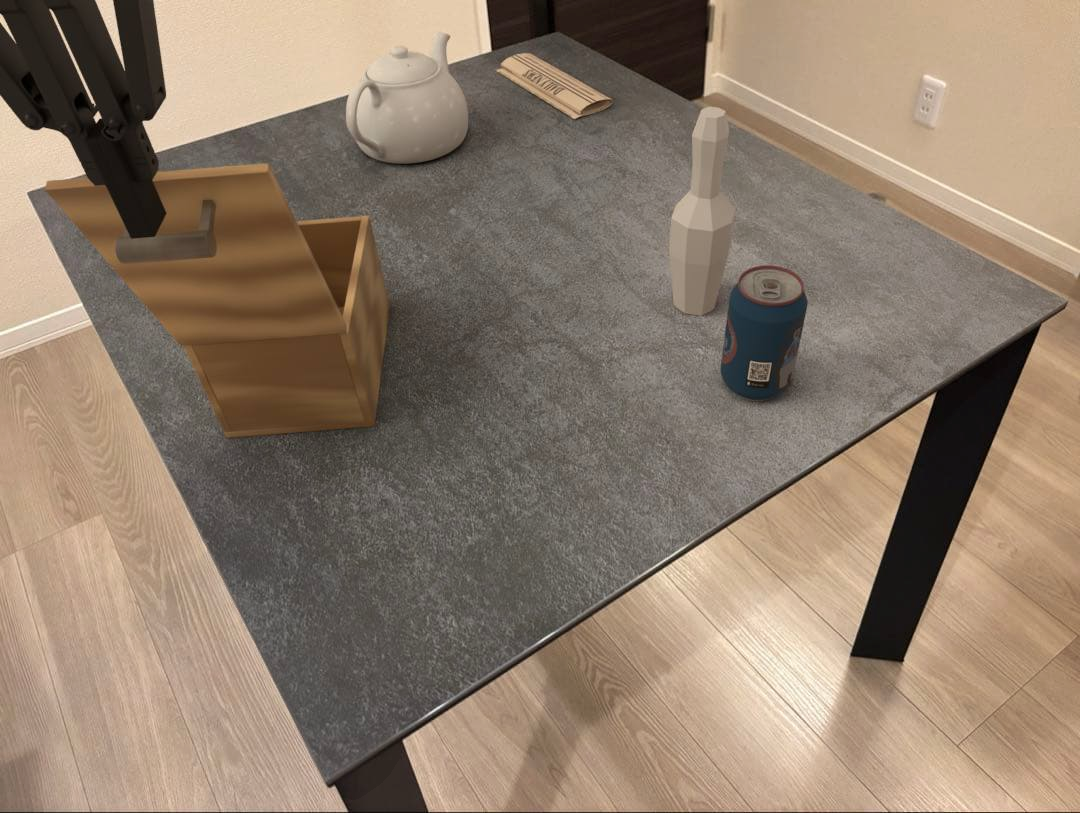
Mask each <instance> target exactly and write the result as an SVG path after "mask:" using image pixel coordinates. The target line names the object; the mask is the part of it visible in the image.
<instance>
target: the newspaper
mask: <svg viewBox="0 0 1080 813" xmlns="http://www.w3.org/2000/svg"><path fill="white" fill-rule="evenodd" d="M500 65H501V66H500V67H501V68H498V69H496V70H495V72H497V73H499V74H500V75H502V76H504V77H505V78H507V79H508V80H510V81H512V82H513V83H515V84H517V85H518V86H520V88H521V87H522V88H523V89H525V90H526V91H527V92H530V93H531V94H533V95H534V96H536V97H537V98H539V99H541V100H543V101H544V102H546V103H547V104H549V105H551V106H552V107H554V109H555V108H556V109H558V110H559V111H560V112H562V113H564V114H565V115H567V116H569V117H570V118H572V119H573V120H576V119H578V118H580V117H586V116H589V115H593V114H595V113H598V112H601V111H604V110H606V109H607V108H609V107H611V105H612V104H613V99H612V98H611V97H608V96H607V95H606V94H603V93H602V92H600V91H598V90H596V89H594V88H592V87H591V86H589V85H587V84H586V83H584V82H582V81H580V80H579V79H577V78H575V77H574V76H571V75H570V74H567V73H566V72H564V71H562V70H561V69H559V68H557V67H555V66H554V65H551V64H550V63H548V62H546V61H545V60H543V59H542V58H539V57H538V56H535V55H534V54H532V53H529V52H528V53H527V52H523V53H517V54H514V55H512V56H509V57H507V58H506V59H505V60H502V62H501V63H500Z"/></svg>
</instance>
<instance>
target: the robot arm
mask: <svg viewBox="0 0 1080 813" xmlns="http://www.w3.org/2000/svg"><path fill="white" fill-rule="evenodd" d="M97 3H98V2H97V1H96V0H0V15H1V16H2V17H3V19H4V22H5V24H6V25H7V27H8V30H9V32H10V33H11V35H10V33H9V32H8V31H7V29H6V28H5V26H4V25H3V24H2V22H0V97H1V98H2V100H3V101H4V102H5V104H6V105H7V106H8V107H9V108H10V110H11V111H12V112H13V113H14V115H15V116H16V117H17V118H18V120H19V121H20V122H21V123H22V124H23V125H24V127H25V128H27V129H29V130H32V131H41V130H42V129H43V128H44V129H48V130H52V131H56V132H58V133H61V134H62V135H63V136H64V137H66V138H67V139H68V141H69V143H70V145H71V148H72V149H73V151H74V154H75V155H76V157H77V159H78V161H79V163H80V165H81V167H82V169H83V172H84V173H85V176H86V178H88V179H89V180H90V181H91V182H92V183H93V184H94V185H95V186H99V185H106V187H107V190H108V192H109V194H110V196H111V198H112V200H113V202H114V204H115V206H116V208H117V210H118V212H119V215H120V217H121V219H122V221H123V223H124V225H125V227H126V229H127V231H128V233H129V235H130V238H131V239H134V238H146V237H155V236H156V234H157V232H158V230H159V228H160V226H161V224H162V222H163V220H164V218H165V216H166V214H167V213H166V211H165V208H164V206H163V204H162V201H161V199H160V197H159V195H158V192H157V190H156V188H155V185H154V183H153V181H152V180H153V178H154V176H155V175H156V173H157V172H159V170H160V169H159V168H160V167H159V166H160V165H159V164H160V160H159V159H158V157H157V154H156V152H155V149H154V147H153V144H152V142H151V139H150V137H149V135H148V132H147V129H146V128H145V125H144V122H150V121H151V120H153V119H154V117H155V116H156V115H157V113H158V111H159V109H160V108H161V106H162V105H163V103H164V102H165V100H166V98H167V89H166V81H165V76H164V75H165V74H164V69H163V68H164V67H163V61H162V53H161V45H160V39H159V38H160V37H159V32H158V25H157V24H158V23H157V18H156V17H157V16H156V10H155V3H154V0H112V3H113V8H114V15H115V20H116V26H117V32H118V38H119V44H120V49H121V55H122V61H121V58H120V56H119V54H118V51H117V49H116V46H115V43H114V41H113V39H112V37H111V33H110V31H109V29H108V26H107V25H106V23H105V19H104V17H103V15H102V13H101V10H100V8H99V6H98V4H97ZM51 11H52V12H51ZM52 13H53V14H54V16H53V14H52ZM54 17H55V18H54ZM55 19H56V21H55ZM57 23H58V25H57ZM59 28H60V30H61V32H62V34H61V32H60V30H59ZM63 37H64V39H65V41H66V43H67V45H68V47H67V45H66V43H65V41H64V39H63ZM68 48H69V49H68ZM69 50H70V51H69ZM70 52H71V54H72V56H73V58H74V60H73V58H72V56H71V54H70ZM74 62H75V63H74ZM122 62H123V63H122ZM75 64H76V65H77V67H78V69H77V67H76V65H75ZM78 70H79V71H78ZM79 72H80V73H79ZM80 74H81V76H82V78H81V76H80ZM82 79H83V80H84V82H83V81H82ZM84 83H85V85H86V87H87V89H88V91H87V89H86V87H85V85H84ZM88 92H89V94H90V95H89V94H88ZM90 97H91V98H92V100H93V102H94V103H93V102H92V100H91V98H90ZM97 113H99V116H100V118H99V119H98V120H97V121H96V120H95V116H96V115H97Z"/></svg>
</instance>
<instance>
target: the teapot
mask: <svg viewBox="0 0 1080 813" xmlns="http://www.w3.org/2000/svg"><path fill="white" fill-rule="evenodd" d="M450 39H451V35H450V34H449V33H446V32H443V31H436V32H435V33H434V35H433V38H432V41H431V43H430V49H429V55H427V54H425V53H422V52H419V51H412V50H409V49H408V47H406V45H405V46H404V45H395V46H393V47H391V49H390V50H389V52H390V53H386V54H383V55H381V56H380V57H378V58H376V59H375V60H374V61H373V62H372V63H371V64H370V65H368V67H366V68H365V70H364V71H363V73H362V77H361V79H359V80H358V81H356V82H355V83H354V84H353V85H352V87H351V88H350V91H349V93H348V96H347V100H346V107H345V121H346V122H345V123H346V127H347V130H348V132H349V134H350V135H351V137H352V138H353V139H355V142H356V144H357V145H358V147H359V149H361V151H362V152H363V153H364V154H366V155H367V156H368V157H370V158H372V159H374V160H376V161H380V162H382V163H389V164H398V165H401V164H402V165H403V164H404V165H405V164H407V165H409V164H419V163H423V162H428V161H432V160H436V159H438V158H441V157H443V156H445V155H448V154H450V153H451V152H453V151H454V150H456V149H457V148H459V146H460V145H461V144H462V143H463V142H464V140H465V138H466V136H467V133H468V129H469V110H468V104H467V100H466V97H465V95H464V92H463V90H462V89H461V86H460V85H459V84H458V82H457V81H456V79H455V78H454V77H453V76H452V75H451V74H450V70H449V64H448V63H449V62H448V55H447V46H448V42H449V40H450Z"/></svg>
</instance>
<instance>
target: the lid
mask: <svg viewBox="0 0 1080 813" xmlns="http://www.w3.org/2000/svg"><path fill="white" fill-rule="evenodd" d="M152 181H153V183H154V185H155V188H156V190H157V192H158V195H159V197H160V199H161V201H162V204H163V206H164V208H165V211H166V213H167V214H166V216H165V218H164V220H163V222H162V224H161V226H160V228H159V230H158V232H157V234H156V236H155V237H146V238H134V239H131V238H130V235H129V233H128V231H127V229H126V227H125V225H124V223H123V221H122V219H121V217H120V215H119V212H118V210H117V208H116V206H115V204H114V202H113V200H112V198H111V196H110V194H109V192H108V190H107V187H106V185H99V186H95V185H94V184H93V183H92V182H91V181H90V180H89V179H88V177H78V178H65V179H53V180H46V183H45V187H44V191H45V192H46V193H47V195H48V196H49V197H50V198H51V199H52V200H53V201H54V203H55V204H56V205H57V206H58V207H59V208H60V210H61V211H62V212H63V213H64V214H65V215H66V216H67V217H68V218H69V221H71V223H72V224H74V225H75V227H76V228H77V229H78V230H79V231H80V232H81V234H83V236H84V237H85V238H86V239H87V240H88V242H89V243H90V244H91V245H92V246H93V248H95V249H96V251H97V252H98V253H99V254H100V255H101V256H102V258H103V259H105V261H106V262H107V264H109V266H110V267H111V268H112V269H113V270H114V271H115V273H116V274H117V275H118V276H119V277H120V278H121V280H122V281H123V282H124V283H125V284H126V285H127V286H128V287H129V288H130V290H131V291H132V292H133V293H134V295H136V297H137V298H138V299H139V301H141V303H142V304H143V305H144V307H146V308H147V310H149V312H150V313H151V314H152V315H153V316H154V317H155V318H156V320H157V321H158V322H159V323H160V324H161V325H162V326H163V327H164V329H165V331H167V332H168V333H169V334H170V336H171V337H172V338H173V339H174V340H175V341H176V342H177V344H178V345H179V347H184V346H189V345H202V344H215V343H227V342H240V341H252V340H265V339H278V338H290V337H303V336H315V335H328V334H341V333H347V325H346V323H345V321H344V319H343V317H342V315H341V313H340V311H339V308H338V306H337V304H336V302H335V300H334V298H333V296H332V294H331V292H330V290H329V288H328V286H327V284H326V281H325V279H324V277H323V275H322V273H321V271H320V269H319V267H318V265H317V263H316V261H315V259H314V257H313V255H312V252H311V250H310V248H309V246H308V244H307V242H306V240H305V238H304V236H303V234H302V232H301V230H300V228H299V225H298V223H297V220H296V216H294V213H293V210H292V209H291V207H290V205H289V202H288V201H287V199H286V196H285V195H284V192H283V190H282V188H281V186H280V184H279V182H278V180H277V178H276V176H275V174H274V171H273V169H272V167H271V166H270V163H268V162H266V163H265V162H264V163H253V164H239V165H227V166H214V167H203V168H202V167H201V168H189V169H177V170H165V171H157V173H156V175H155V176H154V178H153V180H152Z"/></svg>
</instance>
